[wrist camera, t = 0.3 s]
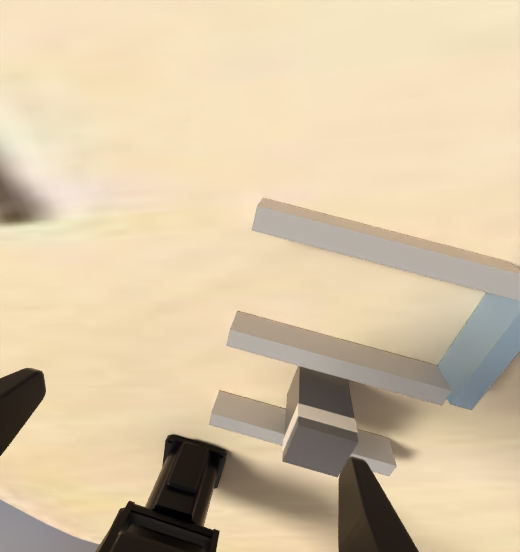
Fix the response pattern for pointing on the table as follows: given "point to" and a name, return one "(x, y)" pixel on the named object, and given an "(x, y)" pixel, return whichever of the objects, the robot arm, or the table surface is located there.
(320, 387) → the grey capped block
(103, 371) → the table surface
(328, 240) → the grey rectangular bars
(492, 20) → the table surface
